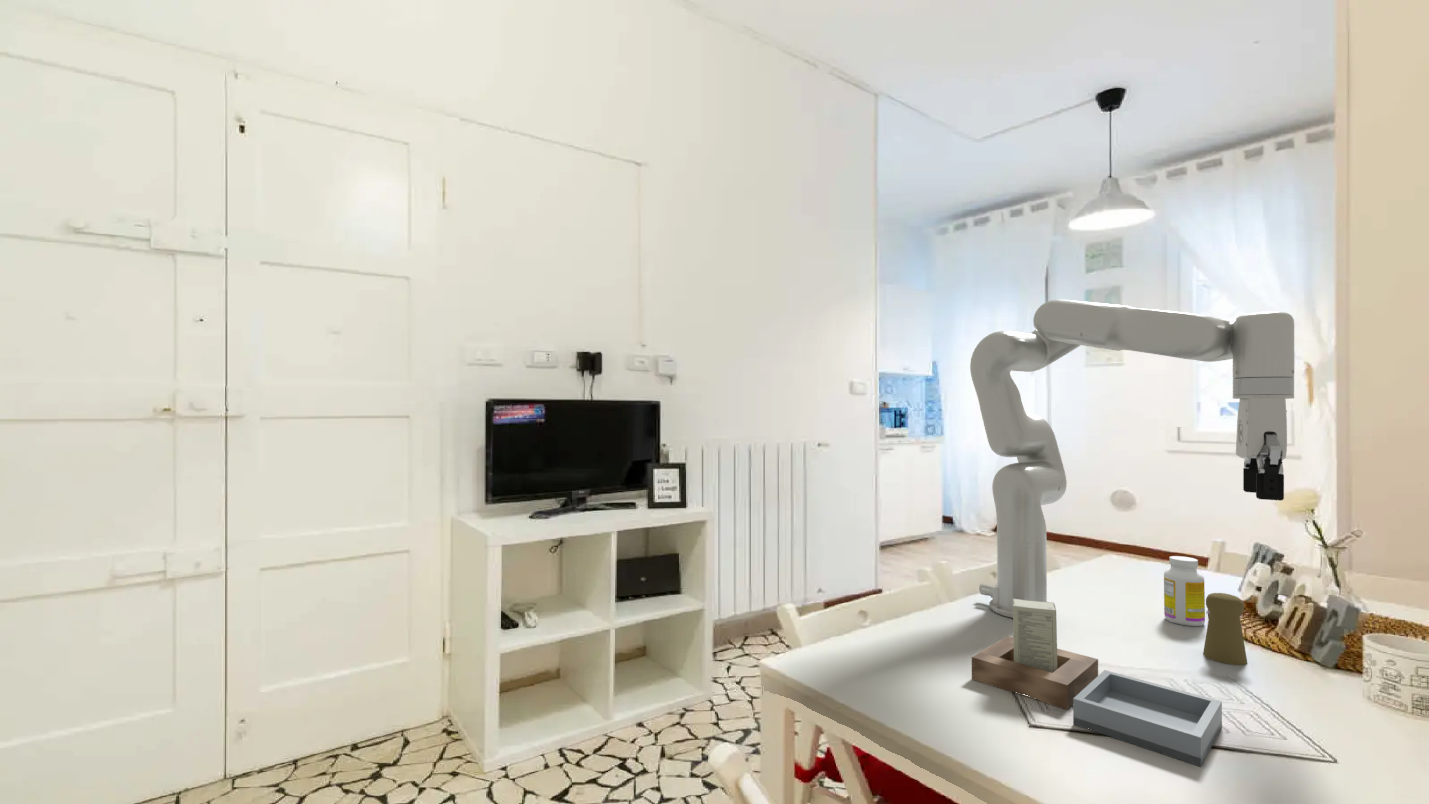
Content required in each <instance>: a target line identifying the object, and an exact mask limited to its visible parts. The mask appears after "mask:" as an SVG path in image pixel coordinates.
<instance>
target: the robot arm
mask: <svg viewBox="0 0 1429 804" xmlns="http://www.w3.org/2000/svg"><path fill="white" fill-rule="evenodd" d="M1033 327H1034V329H1035V330H1033V331H1032V332H1030V333H1027V332H1020V331H1014V330H1013V331H1012V330H1000V331H995V332H992V333H990V334H988V335H986V336H985V337H983V338H982V339H981V340H980V341H979V342H978V343H977V344H976V346H975V348H974V350H973V352H972V354H971V357H970V365H969V368H970V376H971V380H972V384H973V387H974V390H975V394H976V397H977V400H978V404H979V408H980V414H981V417H982V418H981V419H982V422H983V425H984V430H985V434H986V439H987V443H988V446H989V448H990V449H991V450H992V452H993V453H995V454H996V455H998V456H1000V457H1002V458H1003V457H1004V458H1016V460H1017V462H1013V463H1010V464H1007V465H1005V466H1003V467H1001V468H1000V469H999V470H998V471H997V472H996V473H995V475H994V477H993V480H992V488H991V489H992V496H993V501H994V506H995V513H996V566H997V567H996V572H997V573H996V583H997V584H996V585H994V586H992V585H990V584H985V583H980V584H979V590H978V591H979V594H980V595H983V596H989V597H990V598H992V599H991V600H990V601H989V603H988V604H989V605H988V606H989V609H990V610H991V611H992V610H993V611H992V612H994V611H995V612H994V613H996V614H998V615H1000V616H1004V617H1007V618H1011V619H1013V599H1022V600H1033V601H1043V602H1048V601H1047V600H1048V599H1047V598H1048V596H1047V594H1048V593H1047V592H1048V591H1047V585H1048V584H1047V575H1048V574H1047V573H1048V572H1047V567H1048V566H1047V561H1048V560H1047V558H1048V557H1047V555H1048V554H1047V549H1048V548H1047V524H1046V520H1045V516H1044V512H1043V509H1042V506H1047V505H1049V504H1053V503H1054V504H1055V502H1057V501H1059V500H1061V499H1062V498H1063V496H1064V495H1065V493H1066V490H1067V475H1066V471H1065V468H1064V464H1063V460H1062V457H1061V453H1060V449H1059V446H1058V442H1057V438H1056V435H1055V432H1054V430H1053V428H1052V426H1051V425H1050V423H1048V421H1047V420H1046V419H1045V418H1043V417H1042V416H1039V415H1036V414H1034V413H1033V414H1032V413H1026V410H1025V408H1024V405H1023V401H1022V397H1021V393H1020V390H1019V388H1018V386H1017V384H1016V383H1015V382H1014V379H1013V377H1012V376H1011V371H1012V372H1025V373H1026V372H1027V373H1029V372H1031V373H1032V372H1035V371H1040V370H1042V369H1045V368H1046V367H1048V366H1049V365H1052V364H1053V363H1055V362H1056V361H1058V360H1059V359H1061V358H1063V357H1064V356H1066V355H1067V354H1069V353H1071V352H1072V351H1074V350H1075V349H1077V348H1079V347H1080V346H1086V347H1091V348H1092V347H1093V348H1097V349H1104V350H1112V351H1116V352H1118V351H1120V352H1121V351H1132V352H1137V353H1146V354H1152V355H1157V356H1158V355H1159V356H1165V357H1171V358H1177V359H1184V360H1191V361H1197V362H1199V361H1200V362H1207V363H1208V362H1210V363H1211V362H1222V361H1228V360H1232V399H1235V400H1239V401H1238V408H1237V418H1236V419H1237V421H1236V423H1237V424H1236V442H1235V455H1236V456H1237V457H1239V458H1240V459H1244V461H1243V462H1244V463H1243V466H1244V467H1243V468H1242V469H1243V474H1242V475H1243V477H1242V478H1243V479H1242V481H1243V483H1242V485H1243V487H1242V488H1243V489H1242V490H1243V491H1244V492H1245V493H1255V496H1256V497H1255V498H1256V499H1258V500H1268V501H1269V500H1270V501H1279V502H1280V501H1283V500H1284V499H1285V484H1284V483H1285V474H1284V466H1283V460H1285V459H1286V458H1287V450H1288V449H1287V447H1288V423H1287V422H1288V420H1287V403H1286V402H1287V401H1286V400H1287V399H1295V319H1294V318H1293V315H1291V314H1290V313H1288V312H1283V311H1261V312H1254V313H1253V312H1252V313H1246V314H1242V315H1239V316H1238V317H1236V318H1230V319H1229V318H1219V317H1213V316H1211V315H1210V316H1209V315H1204V314H1197V313H1192V312H1191V313H1189V312H1180V311H1179V312H1178V311H1171V310H1160V309H1149V308H1137V307H1133V306H1130V305H1121V304H1111V303H1102V302H1091V301H1082V300H1081V301H1080V300H1071V299H1052V300H1048V301H1046V302H1044V303H1042V304H1041V305H1040V306H1039V307H1038V308H1037V309H1036V311H1035V312H1034V315H1033Z"/></svg>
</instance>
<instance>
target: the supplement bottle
mask: <svg viewBox="0 0 1429 804" xmlns="http://www.w3.org/2000/svg"><path fill="white" fill-rule="evenodd" d="M1168 559H1169V565H1170V567H1169V568H1167V569H1166V570H1164V572H1163V600H1164V601H1163V609H1164V610H1163V613H1164V617H1165V619H1166V620H1167V621H1168V622H1171V623H1174V624H1177V625H1181V626H1187V627H1188V626H1189V627H1201V626H1203V625H1205V622H1206V609H1205V608H1206V607H1205V606H1206V597H1205V577H1204V575H1203V574H1202V573H1200V572H1199V571H1198V566H1199V559H1197V558H1194V557H1190V556H1189V557H1188V556H1182V555H1181V556H1180V555H1172V556H1169V558H1168Z"/></svg>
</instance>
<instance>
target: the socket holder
mask: <svg viewBox="0 0 1429 804" xmlns="http://www.w3.org/2000/svg"><path fill="white" fill-rule="evenodd" d="M1098 676H1099V658H1097V657H1096V658H1095V657H1093V656H1092V657H1091V656H1087V655H1084V654H1080V653H1077V652H1072V651H1067V650H1064V649H1060V648H1057V670H1056V671H1054V672H1053V673H1051V672H1048V671H1044V670H1041V669H1037V668H1034V667H1030V666H1027V665H1023V664H1020V663H1016V662H1014V639H1013V636H1010V635H1007V636H1005V637H1003V638H1002V639H1000V640H998V641H996V642H995V643H993V644H992V645H990V646H988V647H986V648H984V649H982V650H981V651H980V652H977V653H976V654H975V655H973V656H971V680H973V681H977V682H979V683H981V684H982V683H983V684H985V685H989V686H992V687H995V688H998V689H1002V690H1004V691H1008V692H1011V693H1014V692H1017V693H1020V694H1025V695H1028V696H1030V697H1032V698H1036V699H1038V700H1037V701H1039V700H1040V701H1039V702H1042V703H1045V702H1046V703H1045V704H1048V703H1049V704H1048V705H1052V706H1054V707H1058V708H1061V709H1064V710H1067V711H1068V710H1069V709H1070V708H1071V707H1073V698H1074V697H1076V696H1077V695H1078V694H1079V693H1080V692H1081V691H1082V690H1083V689H1084V688H1085V687H1087V686H1088V685H1089V684H1090V683H1091V682H1092V681H1093V680H1094V679H1095V678H1096V677H1098ZM1017 693H1016V694H1017ZM1020 694H1019V695H1020ZM1032 698H1031V699H1032Z"/></svg>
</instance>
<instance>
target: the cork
mask: <svg viewBox="0 0 1429 804" xmlns="http://www.w3.org/2000/svg"><path fill="white" fill-rule="evenodd" d="M1205 606H1206V608H1207V610H1208V611H1209V615H1208V622H1207V629H1206V635H1205V640H1204V645H1203V652H1202V655H1203V656H1204V657H1205V658H1207V659H1208V660H1212V661H1214V662H1218V663H1221V664H1226V665H1232V666H1245V665H1247V664H1248V658H1247V653H1246V646H1245V640H1244V633H1243V628H1242V623H1241V616H1242V615H1243V613H1244V610H1245V606H1244V602H1243V600H1242V599H1241V598H1240V597H1238V596H1236V595H1234V594H1231V593H1230V594H1229V593H1225V592H1213V593H1211V592H1210V593H1209V594H1207V596H1206V597H1205Z"/></svg>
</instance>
